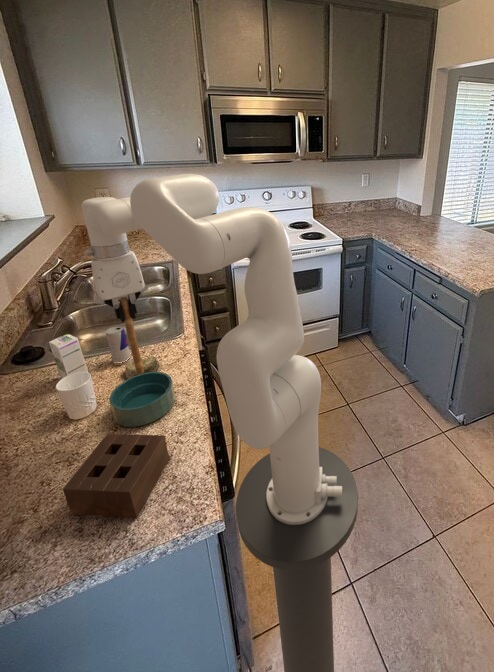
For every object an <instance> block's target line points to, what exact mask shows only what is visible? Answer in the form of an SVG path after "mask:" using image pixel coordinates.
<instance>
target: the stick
mask: <svg viewBox="0 0 494 672" xmlns="http://www.w3.org/2000/svg"><path fill="white" fill-rule="evenodd" d="M118 303H119V304H120V306H121V307H122V309H123V313H124V317H125V322H123V323H124V326H125V327H124V328H125V332H126V337H127V341H128V345H129V347H130V348H129V349H130V353H131V356H132V357H131V358H132V359H133V361H134V365H135V369H136V373H137V374H142V373H143V372H144V370H143V365H142V361H141V358H142V357H141V352H140V349H139V344H138V339H137V335H136V330H135V327H134V321H133V319H132V317H131V313H130V309H129V305H128V296H121V297H119V298H118Z"/></svg>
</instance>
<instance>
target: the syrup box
mask: <svg viewBox="0 0 494 672" xmlns="http://www.w3.org/2000/svg"><path fill="white" fill-rule="evenodd" d="M48 344H49V347H50V350H51V354H52V356H53V360H54V363H55V366H56V368H57V371H58V375H59V377H60V380H61V379H63V378H64V377H66V376H68V375H71V374H73V373H77V372H88V373H89V370H88V366H87V364H86V363H87V362H86V360H85V357H84V354H83V350H82V348H81V345H80V341H79V338H78V337H77V336H74V335H72V334H69V333H66V334H63V335H61V336H59V337H56V338H54V339H52V340H50V341H48Z"/></svg>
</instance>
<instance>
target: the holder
mask: <svg viewBox="0 0 494 672" xmlns="http://www.w3.org/2000/svg"><path fill="white" fill-rule="evenodd" d="M165 436H166V435H164V434H163V435H162V434H159V435H157V434H129V433H128V434H126V433H125V434H124V433H106V435H105V436H104V437H103V438H102V440H101V441H100V442H99V443H98V445H96V447H95V448H94V449H93V451H92V452H91V453H90V455H88V457H87V458H86V460H84V462H83V463H82V465H80V467H79V468H78V469H77V471H75V473H74V474H73V476H72V477H71V478H70V479H69V481H67V483H66V484H65V485H64V486H63V488H62V492H63V494H64V498H65V501H66V504H67V506H68V508H69V512H70V514H71V516H86V517H87V516H88V517H111V518H127V519H128V518H129V519H137V518H138V517H139V515H140V513H141V512H142V510H143V508H144V506H145V504H146V502H147V500H148V499H149V497H150V495H151V493H152V491H153V489H154V487H155V486H156V484H157V482H158V481H159V479H160V477H161V475H162V474H163V472H164V470H165V469H166V467H167V465H168V463H169V461H170V454H169V449H168V446H167V441H166V437H165Z"/></svg>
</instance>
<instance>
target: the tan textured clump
mask: <svg viewBox="0 0 494 672" xmlns="http://www.w3.org/2000/svg"><path fill="white" fill-rule="evenodd" d="M141 361H142V365H143V370H144V372H143V373H148V372H158V370H159V367H160V363H159V361H157V357H156V356H154V355H152V354H151V355H149V356H148V357H146V359H145V358H142V357H141ZM136 375H139V374H137V373H136V369H135V365H134V361H133V358H131V359H130V361H128V362H127V363H125V375H124V376H125V378H126V380H127V379H129V378H131V377H134V376H136Z"/></svg>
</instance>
